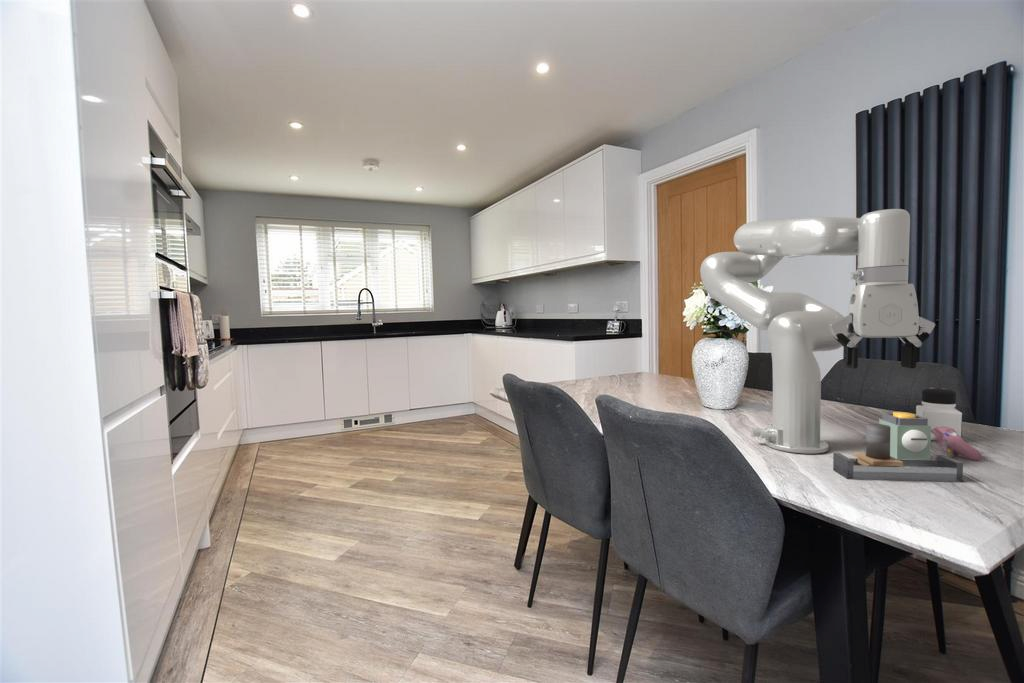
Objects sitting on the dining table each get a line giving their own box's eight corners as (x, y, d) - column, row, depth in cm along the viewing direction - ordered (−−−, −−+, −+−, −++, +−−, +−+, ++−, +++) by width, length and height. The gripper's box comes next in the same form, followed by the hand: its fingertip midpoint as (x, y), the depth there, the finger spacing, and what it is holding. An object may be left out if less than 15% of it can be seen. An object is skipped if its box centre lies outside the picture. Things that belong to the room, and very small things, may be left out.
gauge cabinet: (898, 465, 93) (899, 419, 93) (878, 455, 100) (879, 412, 99) (932, 466, 92) (933, 419, 92) (909, 456, 99) (910, 412, 98)
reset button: (900, 423, 94) (900, 415, 94) (888, 419, 98) (888, 411, 98) (920, 423, 94) (920, 415, 94) (907, 419, 97) (908, 411, 97)
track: (847, 478, 87) (847, 460, 86) (833, 470, 91) (833, 452, 91) (962, 481, 84) (963, 462, 83) (941, 472, 88) (942, 454, 88)
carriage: (872, 471, 85) (873, 429, 85) (854, 460, 91) (854, 422, 91) (903, 471, 85) (903, 429, 84) (882, 461, 90) (882, 422, 90)
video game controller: (939, 454, 104) (922, 426, 105) (963, 447, 102) (945, 418, 103) (959, 467, 95) (940, 436, 96) (986, 460, 93) (966, 428, 94)
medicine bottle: (962, 443, 107) (963, 391, 106) (921, 439, 111) (922, 390, 110) (953, 435, 113) (954, 387, 112) (915, 432, 117) (916, 385, 116)
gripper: (841, 278, 85) (839, 370, 86) (949, 274, 82) (946, 370, 83) (821, 280, 92) (820, 365, 93) (920, 277, 89) (917, 365, 90)
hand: (879, 367), depth 88 cm, fingers open, 9 cm apart
